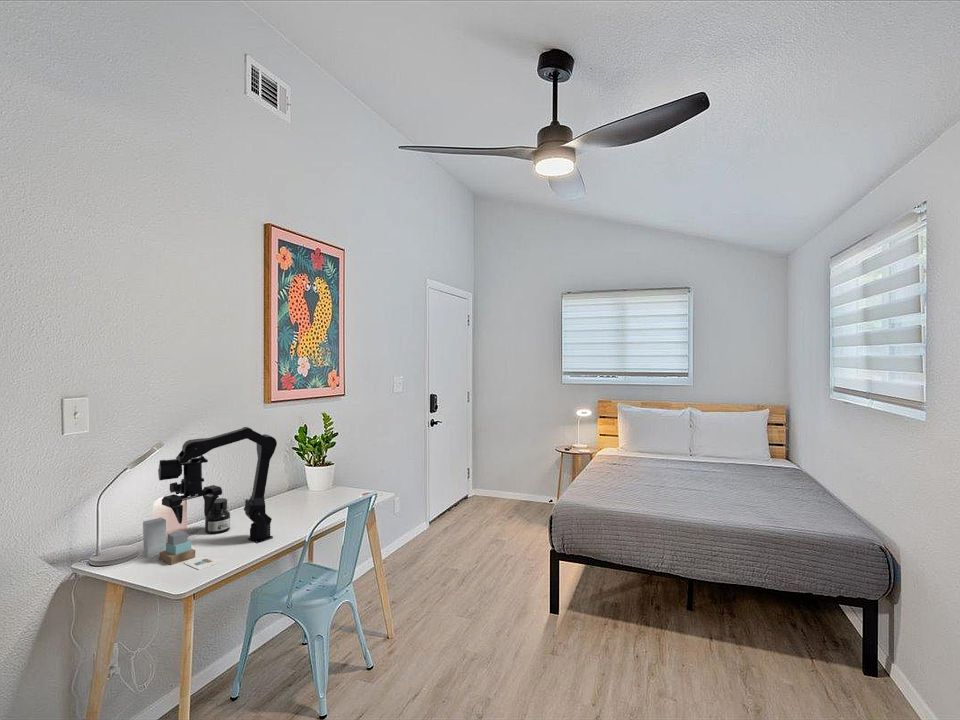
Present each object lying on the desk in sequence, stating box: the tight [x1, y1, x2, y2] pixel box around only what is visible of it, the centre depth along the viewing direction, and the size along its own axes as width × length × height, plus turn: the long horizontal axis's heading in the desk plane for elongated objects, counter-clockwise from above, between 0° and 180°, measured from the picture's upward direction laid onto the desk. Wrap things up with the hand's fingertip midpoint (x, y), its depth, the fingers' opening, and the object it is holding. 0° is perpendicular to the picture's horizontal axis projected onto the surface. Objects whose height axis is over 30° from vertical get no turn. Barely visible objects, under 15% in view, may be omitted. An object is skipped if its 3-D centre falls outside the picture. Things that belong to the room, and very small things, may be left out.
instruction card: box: [183, 556, 220, 571], centre depth 176 cm, size 7×9×1 cm
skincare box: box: [142, 517, 167, 559], centre depth 183 cm, size 6×4×12 cm
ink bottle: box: [204, 497, 231, 535], centre depth 208 cm, size 10×9×12 cm
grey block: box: [167, 530, 188, 546], centre depth 180 cm, size 4×4×3 cm
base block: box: [158, 548, 196, 566], centre depth 180 cm, size 8×8×3 cm
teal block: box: [166, 539, 192, 555], centre depth 180 cm, size 6×6×3 cm
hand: (193, 519), depth 185 cm, fingers open, 9 cm apart
